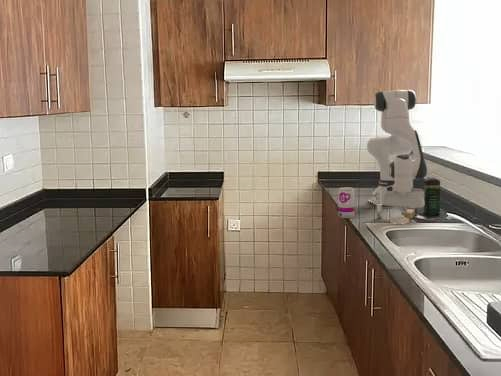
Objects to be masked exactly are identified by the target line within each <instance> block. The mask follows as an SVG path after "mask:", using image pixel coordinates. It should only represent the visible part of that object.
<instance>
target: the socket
mask: <svg viewBox="0 0 501 376" xmlns="http://www.w3.org/2000/svg"><path fill="white" fill-rule="evenodd" d="M393 223H396V224H402V223H409V224H410V220H409V218H405V217H404V216H394V217H390V224H393ZM396 224H395V225H396ZM402 225H403V224H402Z"/></svg>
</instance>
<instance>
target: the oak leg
mask: <svg viewBox="0 0 501 376" xmlns="http://www.w3.org/2000/svg"><path fill="white" fill-rule="evenodd" d="M417 214H418V208H415V207H408V210H407V212H405V213H404V216H403V217H405V218H409V221H411V220H412V219H413V218H415V217H414V216H415V215H417Z"/></svg>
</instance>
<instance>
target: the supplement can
mask: <svg viewBox="0 0 501 376" xmlns="http://www.w3.org/2000/svg"><path fill="white" fill-rule="evenodd" d="M337 196H338V197H337V198H338V199H337V200H338V201H337V203H338V204H337V205H338V206H337V207H338V217H339V218H341V219H351V218H355V216H356V212H355V211H356V209H355V207H356V203H355V199H356V198H355V189H354V188H353V187H350V186H346V187H345V186H344V187H339V189H338V190H337Z"/></svg>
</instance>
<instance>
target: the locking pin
mask: <svg viewBox="0 0 501 376" xmlns="http://www.w3.org/2000/svg"><path fill="white" fill-rule="evenodd" d="M376 219H378V220H382V219H383V205H382V204H377V205H376Z"/></svg>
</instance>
